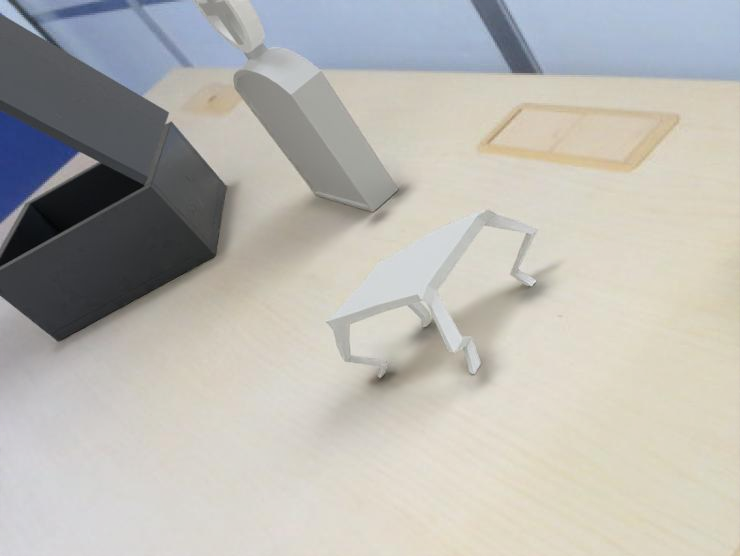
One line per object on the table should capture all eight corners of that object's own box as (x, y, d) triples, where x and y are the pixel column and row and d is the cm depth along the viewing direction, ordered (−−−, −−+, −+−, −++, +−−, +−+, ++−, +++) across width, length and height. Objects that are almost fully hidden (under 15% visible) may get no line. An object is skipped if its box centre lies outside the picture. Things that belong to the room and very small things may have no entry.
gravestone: (339, 175, 62) (174, -58, 49) (398, 189, 57) (229, -71, 44) (315, 195, 62) (141, -36, 49) (373, 212, 56) (192, -46, 43)
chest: (57, 341, 63) (-20, 280, 58) (89, 261, 72) (24, 203, 67) (215, 255, 62) (150, 186, 57) (226, 185, 71) (171, 120, 66)
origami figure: (439, 426, 38) (384, 360, 34) (357, 379, 43) (302, 318, 40) (586, 271, 41) (550, 196, 38) (494, 245, 47) (455, 177, 43)
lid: (-143, 37, 46) (-119, -38, 44) (-69, -16, 56) (-46, -80, 54) (143, 185, 57) (173, 129, 55) (165, 119, 66) (191, 69, 64)
